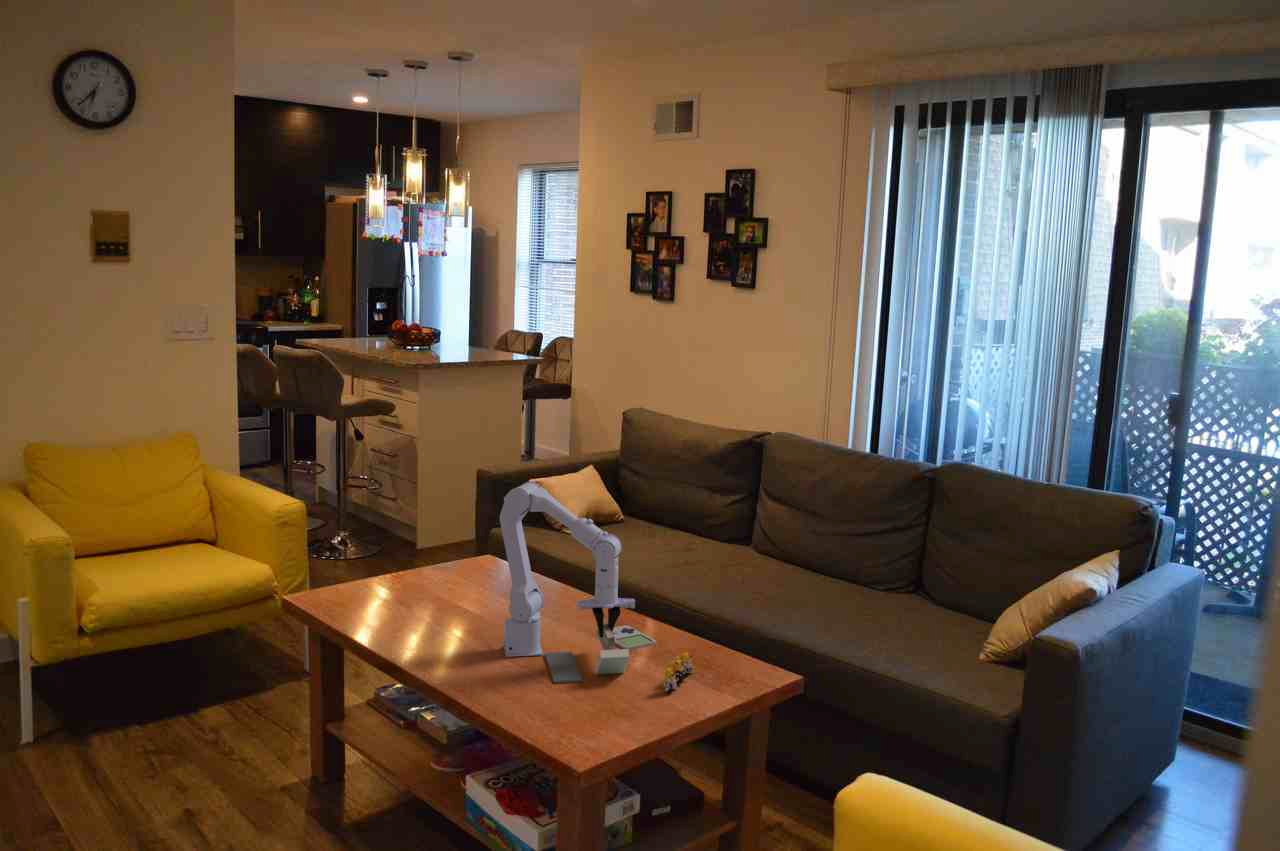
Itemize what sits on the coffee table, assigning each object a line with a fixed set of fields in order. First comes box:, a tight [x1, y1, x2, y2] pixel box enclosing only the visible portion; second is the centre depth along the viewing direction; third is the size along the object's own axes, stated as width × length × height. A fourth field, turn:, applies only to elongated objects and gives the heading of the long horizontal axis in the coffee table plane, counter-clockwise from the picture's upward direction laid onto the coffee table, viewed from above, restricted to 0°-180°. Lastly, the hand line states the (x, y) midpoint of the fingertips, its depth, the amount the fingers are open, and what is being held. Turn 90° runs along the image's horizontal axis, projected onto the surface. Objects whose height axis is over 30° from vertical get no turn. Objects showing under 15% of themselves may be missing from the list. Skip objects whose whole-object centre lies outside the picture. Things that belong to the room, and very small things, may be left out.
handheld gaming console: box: [612, 625, 658, 651], centre depth 283 cm, size 10×2×15 cm
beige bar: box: [596, 617, 615, 650], centre depth 264 cm, size 2×16×5 cm, turn 12°
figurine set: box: [663, 650, 693, 696], centre depth 252 cm, size 3×16×7 cm, turn 158°
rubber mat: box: [544, 651, 584, 685], centre depth 260 cm, size 7×19×1 cm, turn 12°
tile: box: [594, 648, 630, 675], centre depth 255 cm, size 7×2×9 cm
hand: (605, 635), depth 264 cm, fingers closed on beige bar, 2 cm apart
